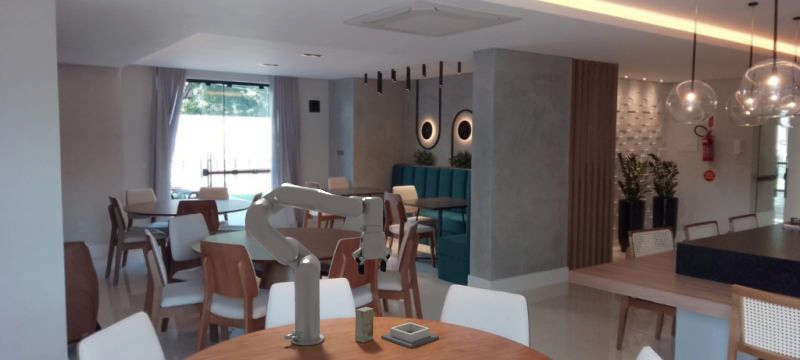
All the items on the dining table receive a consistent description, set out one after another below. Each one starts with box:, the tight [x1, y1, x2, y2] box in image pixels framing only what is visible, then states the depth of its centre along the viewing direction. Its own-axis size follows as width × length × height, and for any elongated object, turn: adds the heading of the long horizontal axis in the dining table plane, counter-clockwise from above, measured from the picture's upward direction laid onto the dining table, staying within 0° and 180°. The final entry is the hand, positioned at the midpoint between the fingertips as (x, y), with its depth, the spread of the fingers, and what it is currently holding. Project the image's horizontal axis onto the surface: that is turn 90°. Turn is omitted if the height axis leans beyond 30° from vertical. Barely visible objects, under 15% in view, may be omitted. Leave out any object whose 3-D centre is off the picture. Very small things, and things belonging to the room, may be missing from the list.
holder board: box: [380, 321, 440, 349], centre depth 225 cm, size 16×16×4 cm
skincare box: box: [354, 306, 375, 343], centre depth 223 cm, size 6×4×12 cm
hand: (372, 272), depth 223 cm, fingers open, 9 cm apart
